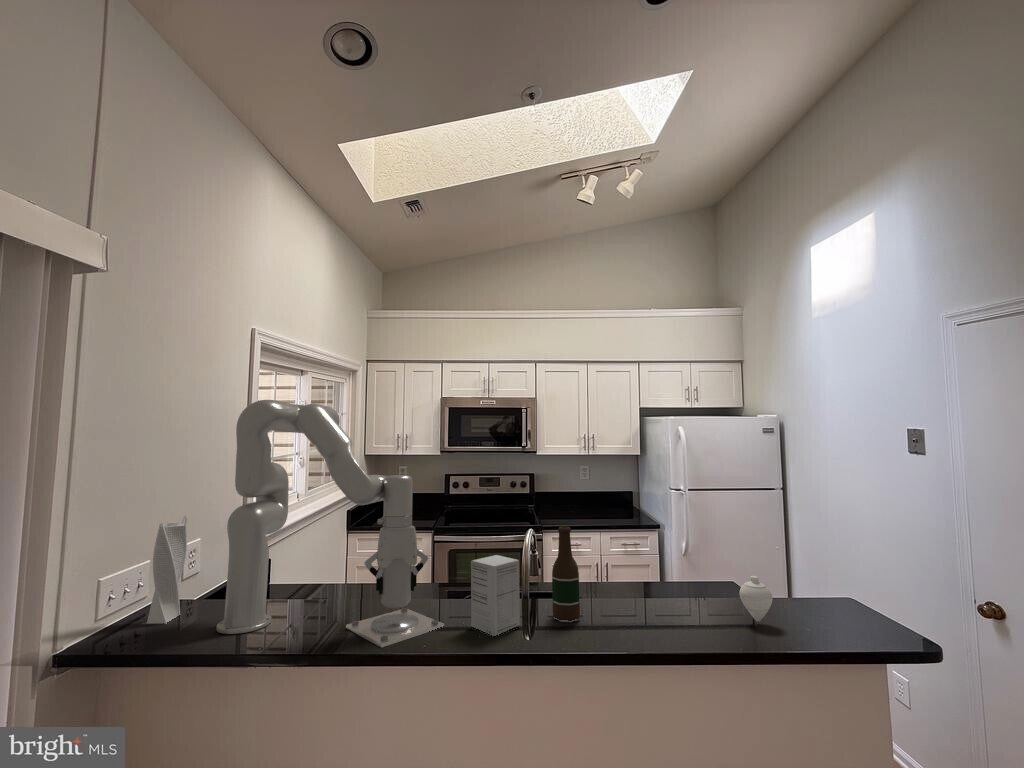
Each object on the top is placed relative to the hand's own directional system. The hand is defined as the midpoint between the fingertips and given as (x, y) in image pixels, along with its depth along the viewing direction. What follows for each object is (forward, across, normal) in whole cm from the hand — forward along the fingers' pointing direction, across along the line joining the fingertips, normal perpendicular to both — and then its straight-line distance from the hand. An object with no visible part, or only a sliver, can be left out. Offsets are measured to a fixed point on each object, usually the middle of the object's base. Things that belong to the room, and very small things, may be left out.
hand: (396, 591), depth 122 cm
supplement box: (+9, +24, -9) cm, 28 cm away
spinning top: (+10, +88, -32) cm, 94 cm away
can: (+3, 0, 0) cm, 3 cm away
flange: (+9, 0, 0) cm, 9 cm away
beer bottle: (+9, +44, -10) cm, 46 cm away
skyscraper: (+9, -59, +28) cm, 66 cm away
